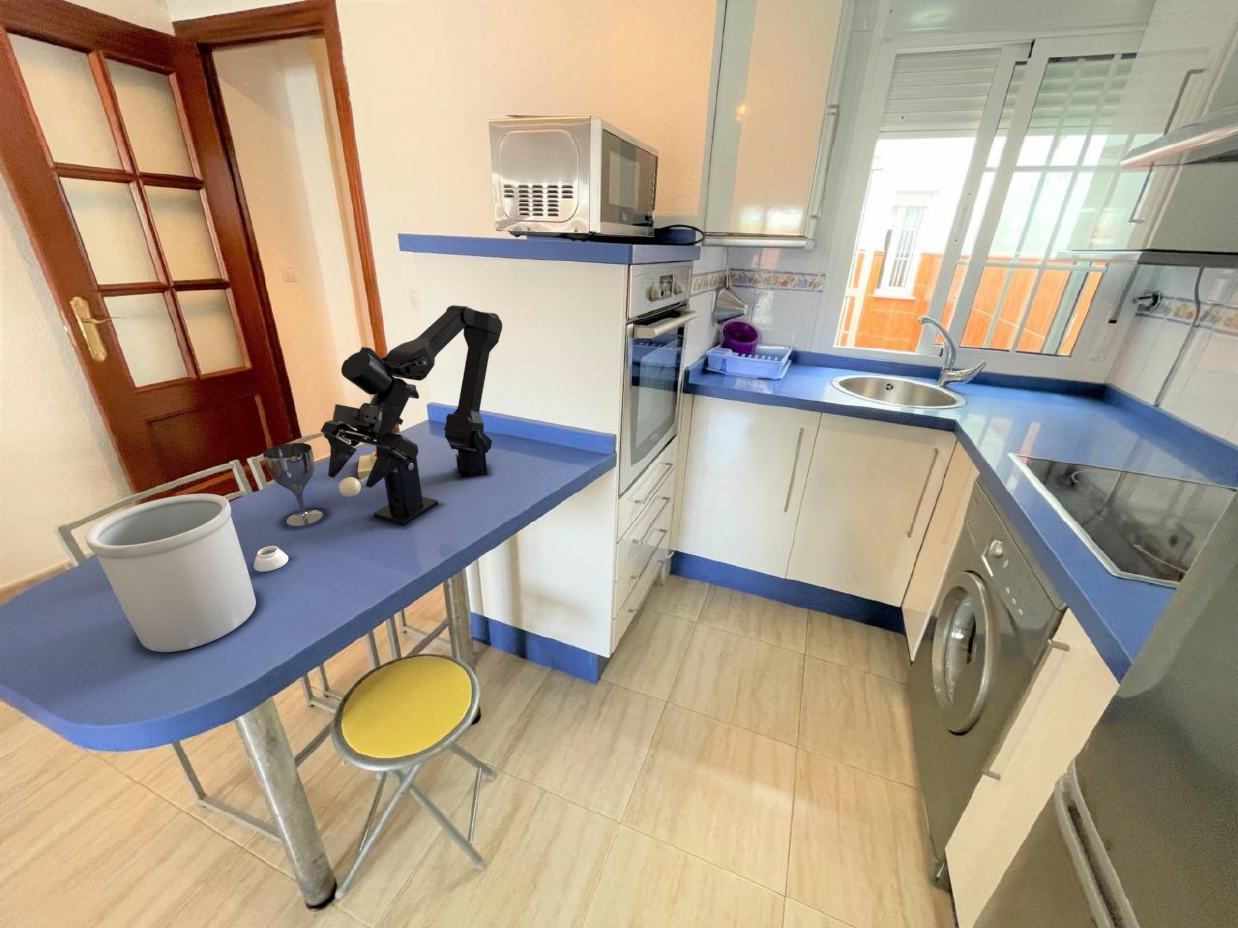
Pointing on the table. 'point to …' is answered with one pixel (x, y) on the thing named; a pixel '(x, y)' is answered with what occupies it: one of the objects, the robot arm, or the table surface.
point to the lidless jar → (270, 559)
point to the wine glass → (293, 475)
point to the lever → (353, 485)
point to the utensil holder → (176, 570)
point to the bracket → (404, 496)
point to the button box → (366, 464)
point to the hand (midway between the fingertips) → (349, 481)
